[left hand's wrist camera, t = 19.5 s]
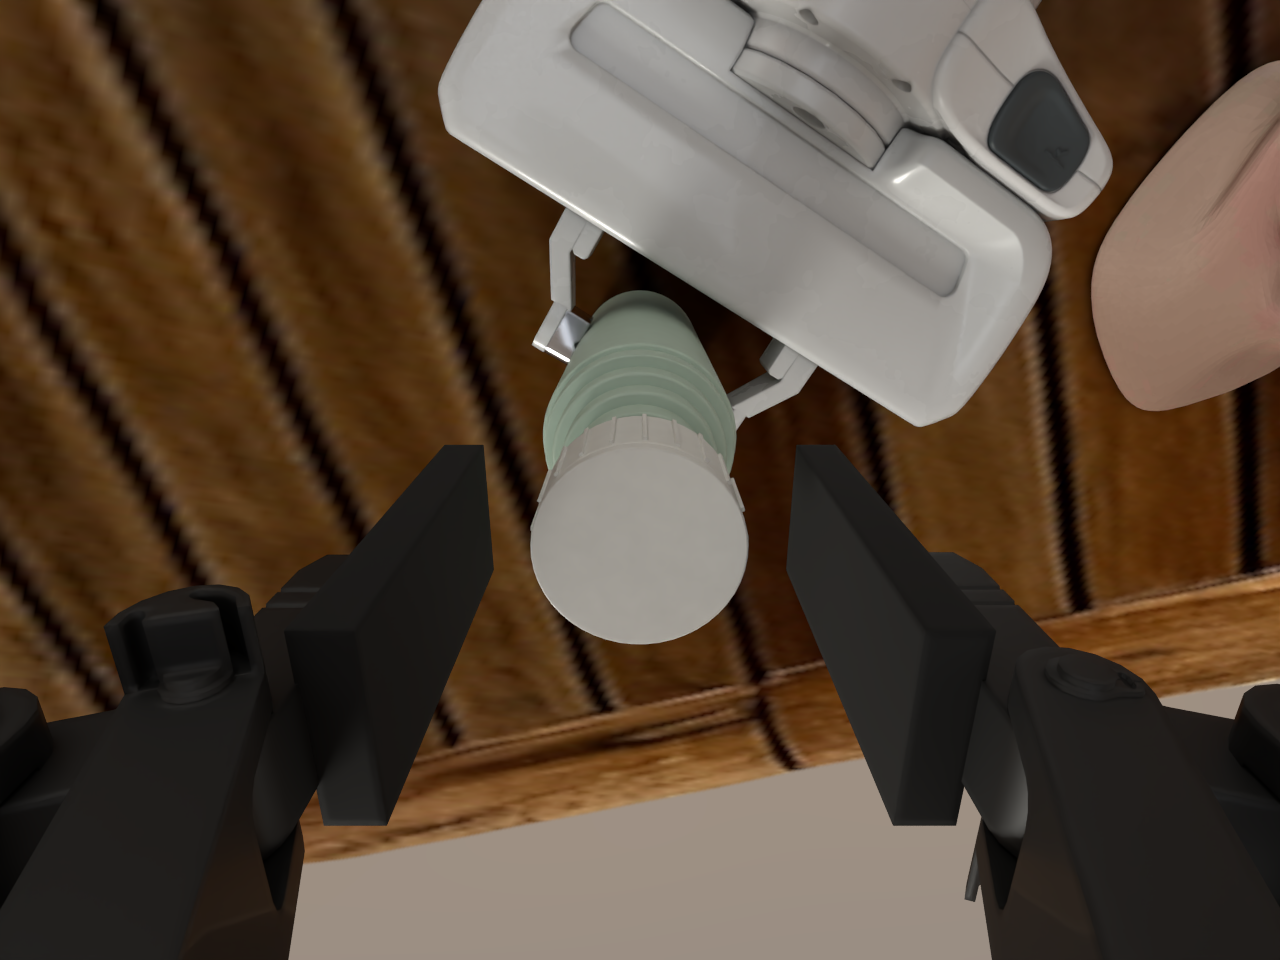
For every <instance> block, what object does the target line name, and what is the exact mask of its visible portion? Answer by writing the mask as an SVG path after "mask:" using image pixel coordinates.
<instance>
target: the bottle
mask: <svg viewBox="0 0 1280 960" xmlns="http://www.w3.org/2000/svg"><path fill="white" fill-rule="evenodd" d="M592 317H594V318H593V320H592V323H591V324H590V326H589V328H588V330H587V332H586V333H585V335H584V337H583V338H582V339H581V341H579V343H578V345H577V347H576V349H575V351H574V353H573V355H572V357H571V359H570V361H569V363H568V365H567V367H566V369H565V371H564V373H563V375H562V377H561V379H560V381H559V383H558V385H557V387H556V389H555V391H554V393H553V396H552V398H551V400H550V402H549V405H548V408H547V411H546V415H545V420H544V427H543V443H544V451H545V456H546V462H547V466H548V470H549V469H550V470H552V469H553V467H554V465H555V463H556V462H557V460H558V458H559V457H560V454H561V451H562V448H563V447H564V446H566V447H568V446H569V445H570V444H571V443H572V442H573V441H574V440H575V439H576V438H577V437H579V436H580V435H581V434H583V433H584V429H586V428H587V427H588V428H589V429H591V428H593V427H594V426H596V425H599V424H601V423H604V422H606V421H609V420H612V417H615V416H616V418H622V417H630V416H642V414H647V416H649V417H657V418H662V419H666V420H670V421H672V419H674V420H677V423H678V424H680V425H683V426H685V427H686V428H688V429H690V430H692V431H693V432H695V433H696V434H699V433H701V434H702V435H703V438H704V440H705V441H706V442H707V443H708V444H709V445H710V446H711V447H712V448H713V449H714V450H715V451H716V453H717V454H719V453H721V455H722V456H723V459H724V462H725V465H726V468H727V470H728V473H729V474H730V471H731V467H732V463H733V459H734V453H735V446H736V424H735V418H734V413H733V410H732V407H731V404H730V401H729V399H728V397H727V395H726V393H725V391H724V389H723V387H722V385H721V383H720V381H719V379H718V377H717V375H716V373H715V370H714V368H713V366H712V364H711V362H710V360H709V358H708V356H707V354H706V352H705V350H704V348H703V346H702V344H701V342H700V340H699V338H698V336H697V334H696V332H695V330H694V328H693V326H692V324H691V322H690V320H689V318H688V317H687V315H686V313H685V312H684V311H683V310H682V309H681V308H680V307H679V306H678V305H677V304H676V303H675V302H673V301H672V300H670V299H669V298H667V297H665V296H663V295H661V294H658V293H655V292H650V291H642V290H638V291H629V292H625V293H622V294H619V295H616V296H614V297H613V298H611V299H609V300H608V301H606V302H605V303H604V304H603V305H601V306H600V307H599V308H598V310H597V311H596V312H595V313H594V314H593V316H592Z"/></svg>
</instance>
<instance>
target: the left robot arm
mask: <svg viewBox="0 0 1280 960" xmlns="http://www.w3.org/2000/svg"><path fill="white" fill-rule="evenodd" d="M493 570H494V567H493V555H492V543H491V531H490V519H489V506H488V494H487V482H486V470H485V458H484V446H483V445H444V446H443V447H442V449H441V450H440V451H439V452H438V453H437V454H436V456H435V457H434V458H433V459H432V460H431V461H430V462H429V464H428V465H427V466H426V467H425V468H424V469H423V471H422V472H421V473H420V474H419V475H418V476H417V477H416V479H415V480H414V481H413V482H412V483H411V484H410V486H409V487H408V488H407V489H406V490H405V491H404V492H403V494H402V495H401V496H400V497H399V498H398V499H397V501H396V502H395V503H394V504H393V505H392V506H391V507H390V509H389V510H388V511H387V512H386V513H385V514H384V516H383V517H382V518H381V519H380V520H379V521H378V522H377V524H376V525H375V526H374V527H373V528H372V529H371V531H370V532H369V533H368V534H367V535H366V536H365V537H364V539H363V540H362V541H361V542H360V543H359V544H358V546H357V547H356V548H355V549H354V550H353V551H352V552H351V554H350V555H326V556H324V557H322V558H320V559H319V560H317V561H315V562H313V563H311V564H310V565H308V566H306V567H304V568H302V569H300V570H299V571H298V572H297V573H296V574H295V575H294V576H293V577H292V578H291V579H290V580H289V581H288V582H287V583H286V584H285V585H284V586H283V587H282V588H281V592H277V593H276V594H275V595H274V596H273V597H272V598H271V599H270V600H269V602H268V603H267V604H266V608H262V609H261V610H260V611H259V612H258V613H257V614H256V615H255V616H254V615H253V610H252V606H251V601H250V597H249V595H248V594H247V593H245V592H244V591H243V590H241V589H240V588H237V587H231V586H225V585H203V586H192V587H188V588H183V589H178V590H173V591H168V592H165V593H162V594H160V595H157V596H154V597H151V598H148V599H145V600H142V601H140V602H138V603H136V604H135V605H133V606H131V607H129V608H127V609H125V610H123V611H121V612H120V613H118V614H117V615H116V616H115V617H114V618H113V619H111V620H110V621H109V622H108V623H107V624H106V625H105V626H104V629H105V632H106V636H107V639H108V642H109V645H110V648H111V652H112V655H113V658H114V661H115V665H116V668H117V671H118V674H119V677H120V681H121V684H122V687H123V690H124V693H125V695H124V697H123V699H122V700H121V702H120V704H119V706H118V707H117V709H116V710H112V711H106V712H101V713H96V714H91V715H85V716H80V717H75V718H70V719H64V720H59V721H54V722H49V723H47V722H46V719H45V717H44V714H43V711H42V708H41V706H40V703H39V700H38V697H37V696H35V695H34V694H32V693H31V692H29V691H28V690H26V689H18V688H7V687H3V688H0V960H288V958H289V951H290V945H291V938H292V931H293V925H294V918H295V912H296V905H297V898H298V892H299V885H300V879H301V872H302V866H303V859H304V852H305V850H304V842H303V835H302V830H301V826H300V821H299V819H300V817H301V815H302V813H303V812H304V810H305V808H306V806H307V805H308V803H309V801H310V799H311V798H312V796H313V794H314V792H315V791H316V789H317V794H318V799H319V804H320V809H321V814H322V818H323V823H324V826H387V824H388V822H389V819H390V817H391V814H392V812H393V810H394V807H395V805H396V802H397V800H398V798H399V795H400V793H401V790H402V788H403V786H404V783H405V781H406V778H407V776H408V774H409V771H410V769H411V766H412V764H413V762H414V759H415V757H416V754H417V752H418V750H419V747H420V745H421V743H422V740H423V738H424V735H425V733H426V731H427V728H428V726H429V723H430V721H431V719H432V716H433V714H434V711H435V709H436V707H437V704H438V702H439V699H440V697H441V695H442V692H443V690H444V687H445V685H446V683H447V680H448V678H449V675H450V673H451V671H452V668H453V666H454V664H455V661H456V659H457V656H458V654H459V652H460V649H461V647H462V644H463V642H464V640H465V637H466V635H467V632H468V630H469V628H470V625H471V623H472V620H473V618H474V616H475V613H476V611H477V608H478V606H479V604H480V601H481V599H482V597H483V594H484V592H485V589H486V587H487V585H488V582H489V580H490V577H491V575H492V573H493ZM786 570H787V573H788V575H789V577H790V580H791V582H792V585H793V587H794V589H795V592H796V594H797V597H798V599H799V601H800V604H801V606H802V608H803V611H804V613H805V616H806V618H807V620H808V623H809V625H810V628H811V630H812V632H813V635H814V637H815V640H816V642H817V644H818V647H819V649H820V652H821V654H822V656H823V659H824V661H825V664H826V666H827V668H828V671H829V673H830V675H831V678H832V680H833V683H834V685H835V687H836V690H837V692H838V695H839V697H840V699H841V702H842V704H843V707H844V709H845V711H846V714H847V716H848V719H849V721H850V723H851V726H852V728H853V731H854V733H855V735H856V738H857V740H858V743H859V745H860V747H861V750H862V752H863V754H864V757H865V759H866V762H867V764H868V766H869V769H870V771H871V774H872V776H873V778H874V781H875V783H876V786H877V788H878V790H879V793H880V795H881V798H882V800H883V802H884V805H885V807H886V809H887V812H888V814H889V817H890V819H891V822H892V824H893V825H894V826H956V823H957V818H958V814H959V809H960V804H961V799H962V794H963V789H964V787H965V789H966V790H967V792H968V794H969V796H970V797H971V799H972V801H973V803H974V804H975V806H976V808H977V810H978V811H979V813H980V815H981V821H980V826H979V831H978V835H977V839H976V844H975V848H974V853H973V857H972V862H971V866H970V871H969V875H968V880H967V885H966V892H965V899H966V900H969V901H973V902H975V900H976V895H977V891H978V887H979V885H981V890H982V897H983V903H984V910H985V916H986V923H987V930H988V936H989V943H990V949H991V956H992V960H1280V684H1270V685H1258V686H1254V687H1253V688H1251V689H1250V690H1248V691H1247V692H1245V693H1244V695H1243V698H1242V700H1241V703H1240V706H1239V708H1238V711H1237V714H1236V717H1235V719H1229V718H1223V717H1218V716H1212V715H1207V714H1202V713H1197V712H1192V711H1186V710H1181V709H1176V708H1170V707H1166V706H1162V704H1161V702H1160V701H1159V699H1158V697H1157V696H1156V694H1155V693H1154V692H1153V690H1152V689H1151V688H1150V687H1149V686H1148V685H1147V684H1146V683H1145V682H1144V681H1143V679H1142V678H1140V677H1138V676H1137V675H1135V674H1134V673H1132V672H1131V671H1129V670H1128V669H1126V668H1124V667H1123V666H1121V665H1119V664H1117V663H1115V662H1112V661H1110V660H1107V659H1105V658H1103V657H1100V656H1098V655H1095V654H1091V653H1087V652H1083V651H1079V650H1075V649H1071V648H1060V647H1059V646H1058V645H1057V644H1056V643H1055V642H1054V641H1053V640H1052V639H1051V638H1050V637H1049V636H1048V635H1047V634H1046V633H1045V632H1044V631H1043V630H1042V629H1041V628H1040V627H1039V626H1038V625H1037V624H1036V623H1035V622H1034V621H1033V620H1032V619H1031V618H1030V617H1029V616H1028V615H1027V614H1026V613H1025V612H1024V611H1023V610H1022V609H1021V607H1020V606H1019V605H1015V604H1014V600H1013V599H1012V598H1011V597H1010V596H1009V595H1008V594H1007V593H1006V592H1005V591H1004V590H1000V588H999V585H998V584H997V583H996V582H995V581H994V580H993V579H992V578H991V577H990V576H989V575H988V574H987V573H986V572H985V571H984V570H983V569H982V568H981V567H979V566H977V565H975V564H974V563H972V562H970V561H968V560H966V559H964V558H963V557H961V556H959V555H957V554H955V553H953V552H928V551H927V550H926V549H925V548H924V547H923V546H922V544H921V543H920V542H919V541H918V540H917V539H916V537H915V536H914V535H913V534H912V533H911V532H910V531H909V529H908V528H907V527H906V526H905V525H904V524H903V522H902V521H901V520H900V519H899V518H898V517H897V516H896V514H895V513H894V512H893V511H892V510H891V509H890V507H889V506H888V505H887V504H886V503H885V502H884V501H883V499H882V498H881V497H880V496H879V495H878V494H877V492H876V491H875V490H874V489H873V488H872V487H871V486H870V484H869V483H868V482H867V481H866V480H865V479H864V477H863V476H862V475H861V474H860V473H859V472H858V471H857V469H856V468H855V467H854V466H853V465H852V464H851V462H850V461H849V460H848V459H847V458H846V457H845V456H844V454H843V453H842V452H841V451H840V450H839V449H838V447H837V446H836V445H797V446H796V458H795V470H794V482H793V494H792V506H791V519H790V531H789V543H788V555H787V567H786Z"/></svg>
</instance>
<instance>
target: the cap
mask: <svg viewBox="0 0 1280 960" xmlns="http://www.w3.org/2000/svg"><path fill="white" fill-rule="evenodd" d="M537 502H539V505H538V508H537V511H536V514H535V516H534V519H533V522H532V525H531V531H532V532H531V543H530V546H531V559H532V564H533V568H534V572H535V575H536V577H537V580H538V582H539V584H540V586H541V588H542V590H543V592H544V594H545V595H546V597H547V598H548V599H549V601H550V602H551V604H552V605H553V606H554V607H555V608H556V609H557V610H558V611H559V612H560V613H561V614H562V615H563V616H564V617H565V618H566V619H568V620H569V621H570V622H571V623H573V624H575V625H576V626H578V627H579V628H581V629H582V630H584V631H586V632H588V633H591V634H593V635H595V636H598V637H601V638H603V639H606V640H611V641H615V642H620V643H628V644H651V643H659V642H664V641H668V640H673V639H675V638H678V637H681V636H684V635H686V634H688V633H690V632H693V631H695V630H697V629H698V628H700V627H701V626H703V625H704V624H706V623H708V622H709V621H710V620H711V619H712V618H714V617H715V616H716V615H717V614H718V613H719V612H720V611H721V610H722V609H723V608H724V607H725V606H726V605H727V603H728V602H729V601H730V599H731V598H732V596H733V595H734V594H735V592H736V590H737V588H738V586H739V584H740V582H741V580H742V577H743V574H744V572H745V568H746V563H747V558H748V538H749V537H748V533H747V528H746V523H745V519H744V516H743V513H742V512H743V511H745V509H744V506H743V503H742V500H741V497H740V495H739V492H738V489H737V486H736V484H735V481H734V478H730V476H729V473H728V470H727V468H726V465H725V462H724V459H723V456H722V455H721V453H719V454H717V453H716V451H715V450H714V449H713V448H712V447H711V446H710V445H709V444H708V443H707V442H706V441H705V440H704V438H703V435H702V434H701V433H699V434H696V433H695V432H693V431H692V430H690V429H688V428H686V427H685V426H683V425H680V424H678V423H677V420H674V419H672V421H670V420H666V419H662V418H657V417H649V416H647V414H642V416H630V417H622V418H616V416H615V417H612V420H609V421H606V422H604V423H601V424H599V425H596V426H594V427H593V428H591V429H589V428H588V427H587V428H586V429H584V433H583V434H581V435H580V436H579V437H577V438H576V439H575V440H574V441H573V442H572V443H571V444H570V445H569V446H568V447H566V446H564V447H563V448H562V451H561V454H560V457H559V458H558V460H557V462H556V463H555V465H554V467H553V469H552V470H550V469H549V470H548V473H547V476H546V478H545V481H544V484H543V486H542V489H541V492H540V495H539V497H538V500H537Z"/></svg>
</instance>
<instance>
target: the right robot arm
mask: <svg viewBox="0 0 1280 960" xmlns="http://www.w3.org/2000/svg"><path fill="white" fill-rule="evenodd" d="M1041 1H1042V0H482V2H481V3H480V5H479V7H478V8H477V10H476V12H475V13H474V15H473V17H472V19H471V20H470V22H469V24H468V26H467V28H466V29H465V31H464V33H463V35H462V36H461V38H460V40H459V42H458V44H457V46H456V48H455V50H454V52H453V54H452V56H451V58H450V59H449V61H448V63H447V66H446V68H445V70H444V72H443V74H442V77H441V79H440V82H439V87H438V96H439V102H440V107H441V112H442V116H443V120H444V124H445V128H446V130H447V131H448V132H449V133H450V134H451V135H452V136H454V137H455V138H457V139H458V140H460V141H462V142H463V143H465V144H466V145H468V146H470V147H471V148H473V149H474V150H476V151H477V152H479V153H481V154H482V155H484V156H485V157H487V158H489V159H490V160H492V161H493V162H495V163H497V164H498V165H500V166H501V167H503V168H505V169H506V170H508V171H509V172H511V173H513V174H514V175H516V176H517V177H519V178H521V179H522V180H524V181H525V182H527V183H528V184H530V185H532V186H533V187H535V188H536V189H538V190H540V191H541V192H543V193H544V194H546V195H548V196H549V197H551V198H552V199H554V200H556V201H557V202H559V203H560V204H562V205H564V206H565V207H566V208H565V210H564V212H563V214H562V216H561V218H560V220H559V222H558V224H557V226H556V228H555V230H554V231H553V233H552V235H551V237H550V239H549V245H550V277H551V300H553V301H554V303H553V305H552V307H551V309H550V311H549V312H548V314H547V316H546V318H545V320H544V322H543V324H542V325H541V327H540V329H539V331H538V333H537V335H536V336H535V338H534V341H533V343H532V345H533V346H535V347H536V348H538V349H539V350H541V351H542V352H545V353H547V354H548V355H550V356H552V357H554V358H556V359H557V360H559V361H561V362H563V363H565V364H566V365H568V363H569V361H570V359H571V357H572V355H573V353H574V351H575V349H576V347H577V345H578V343H579V341H581V339H582V338H583V337H584V335H585V333H586V332H587V330H588V328H589V326H590V324H591V323H592V320H593V318H594V317H592V316H590V315H589V314H587V313H586V312H584V311H583V310H581V309H579V308H578V307H576V306H575V255H576V256H578V257H580V258H582V259H586V258H588V257H590V256H591V255H592V253H593V252H594V250H595V248H596V246H597V245H598V243H599V241H600V239H601V237H602V236H603V234H604V232H607V233H608V234H610V235H611V236H613V237H615V238H616V239H618V240H619V241H621V242H622V243H624V244H626V245H627V246H629V247H630V248H632V249H634V250H635V251H637V252H638V253H640V254H642V255H643V256H645V257H646V258H648V259H650V260H651V261H653V262H654V263H656V264H658V265H659V266H661V267H662V268H664V269H666V270H667V271H669V272H670V273H672V274H673V275H675V276H677V277H678V278H680V279H681V280H683V281H685V282H686V283H688V284H689V285H691V286H693V287H694V288H696V289H697V290H699V291H701V292H702V293H704V294H705V295H707V296H709V297H710V298H712V299H713V300H715V301H716V302H718V303H720V304H721V305H723V306H724V307H726V308H728V309H729V310H731V311H732V312H734V313H736V314H737V315H739V316H740V317H742V318H744V319H745V320H747V321H748V322H750V323H752V324H753V325H755V326H756V327H758V328H760V329H761V330H763V331H764V332H766V333H767V334H769V335H771V336H772V337H773V339H772V340H771V342H770V344H769V345H768V347H767V348H766V350H765V351H764V353H763V355H762V356H761V358H760V363H761V365H762V366H763V367H764V368H765V369H766V370H767V372H766V373H765V374H763V375H761V376H759V377H757V378H756V379H754V380H752V381H750V382H748V383H747V384H745V385H743V386H741V387H739V388H738V389H736V390H734V391H732V392H731V393H729V394H727V397H728V399H729V401H730V404H731V407H732V410H733V413H734V418H735V424H736V430H737V429H738V427H739V426H740V424H741V423H742V421H743V420H744V418H745V417H746V416H747V417H748V418H750V417H752V416H754V415H756V414H758V413H760V412H762V411H764V410H766V409H768V408H770V407H772V406H774V405H776V404H778V403H780V402H782V401H784V400H786V399H788V398H790V397H792V396H794V395H796V394H798V393H799V392H800V390H801V389H802V387H803V386H804V384H805V383H806V382H807V380H808V379H809V377H810V376H811V374H812V373H813V371H814V370H815V369H816V367H817V366H820V367H822V368H823V369H825V370H826V371H828V372H830V373H831V374H833V375H834V376H836V377H838V378H839V379H841V380H842V381H844V382H846V383H847V384H849V385H850V386H852V387H854V388H855V389H857V390H858V391H860V392H861V393H863V394H865V395H866V396H868V397H869V398H871V399H873V400H874V401H876V402H877V403H879V404H881V405H882V406H884V407H885V408H887V409H889V410H890V411H892V412H893V413H895V414H897V415H898V416H900V417H901V418H903V419H905V420H906V421H908V422H909V423H911V424H913V425H914V426H917V427H922V426H926V425H930V424H933V423H935V422H938V421H940V420H943V419H946V418H948V417H951V416H953V415H954V414H956V413H957V412H958V411H959V410H960V409H961V408H962V407H963V406H964V405H965V404H966V403H967V401H968V400H969V399H970V398H971V396H972V395H973V394H974V393H975V391H976V390H977V389H978V387H979V386H980V385H981V384H982V382H983V381H984V379H985V378H986V377H987V375H988V374H989V373H990V371H991V370H992V369H993V367H994V366H995V364H996V363H997V361H998V360H999V359H1000V357H1001V356H1002V354H1003V353H1004V351H1005V350H1006V348H1007V347H1008V345H1009V344H1010V342H1011V341H1012V339H1013V338H1014V336H1015V335H1016V333H1017V332H1018V330H1019V328H1020V327H1021V325H1022V324H1023V322H1024V320H1025V319H1026V317H1027V316H1028V314H1029V312H1030V311H1031V309H1032V307H1033V306H1034V304H1035V302H1036V300H1037V299H1038V297H1039V295H1040V293H1041V291H1042V289H1043V286H1044V284H1045V281H1046V279H1047V276H1048V273H1049V269H1050V265H1051V258H1052V244H1051V239H1050V235H1049V232H1048V230H1047V227H1046V225H1045V224H1044V221H1054V220H1061V219H1067V218H1072V217H1075V216H1077V215H1078V214H1080V213H1081V212H1083V211H1084V210H1085V209H1086V208H1087V207H1088V206H1089V205H1090V204H1091V203H1092V202H1093V201H1094V200H1095V198H1096V197H1097V196H1098V195H1099V193H1100V191H1102V189H1103V188H1104V186H1105V185H1106V183H1107V182H1108V180H1109V178H1110V175H1111V173H1112V168H1113V161H1112V156H1111V153H1110V150H1109V148H1108V146H1107V144H1106V142H1105V140H1104V138H1103V136H1102V135H1101V133H1100V131H1099V130H1098V128H1097V126H1096V125H1095V123H1094V121H1093V120H1092V118H1091V116H1090V115H1089V113H1088V111H1087V110H1086V108H1085V106H1084V104H1083V103H1082V101H1081V99H1080V98H1079V96H1078V94H1077V92H1076V91H1075V89H1074V87H1073V85H1072V83H1071V82H1070V80H1069V78H1068V76H1067V74H1066V73H1065V71H1064V69H1063V67H1062V65H1061V63H1060V61H1059V59H1058V57H1057V55H1056V53H1055V51H1054V49H1053V47H1052V45H1051V43H1050V41H1049V39H1048V37H1047V35H1046V33H1045V30H1044V28H1043V26H1042V24H1041V21H1040V19H1039V17H1038V15H1037V12H1036V8H1037V7H1038V5H1039V3H1040V2H1041Z"/></svg>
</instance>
